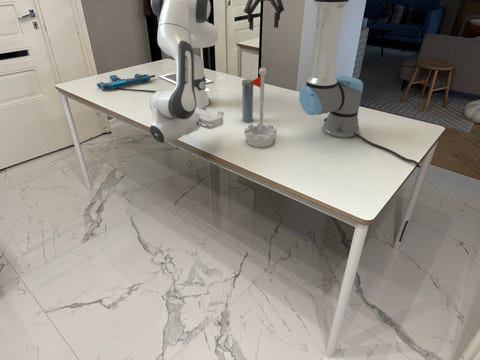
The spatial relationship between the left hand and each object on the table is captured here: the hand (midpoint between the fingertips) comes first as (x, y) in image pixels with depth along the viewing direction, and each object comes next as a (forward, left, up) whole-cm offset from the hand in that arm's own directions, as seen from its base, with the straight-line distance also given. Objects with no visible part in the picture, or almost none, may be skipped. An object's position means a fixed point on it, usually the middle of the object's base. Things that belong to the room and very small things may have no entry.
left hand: (213, 110), depth 138 cm
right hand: (-11, +49, +24) cm, 56 cm away
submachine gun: (-95, +21, -12) cm, 98 cm away
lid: (0, +23, +7) cm, 24 cm away
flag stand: (+18, +9, -12) cm, 23 cm away
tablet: (-71, +49, -12) cm, 87 cm away
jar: (0, +23, -12) cm, 26 cm away
